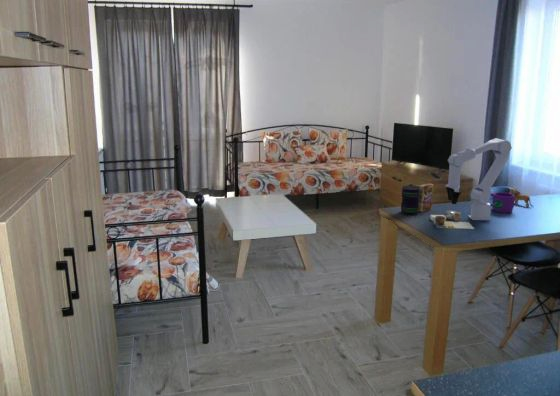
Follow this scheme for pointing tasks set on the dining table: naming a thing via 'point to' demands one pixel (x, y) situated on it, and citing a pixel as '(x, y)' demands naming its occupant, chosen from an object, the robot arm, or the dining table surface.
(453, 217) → the tin
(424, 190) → the candy box
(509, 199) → the mug
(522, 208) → the dining table surface
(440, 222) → the walnut cylinder
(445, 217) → the soap bar
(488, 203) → the robot arm
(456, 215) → the cork
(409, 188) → the storage jar
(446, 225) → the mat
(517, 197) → the lion figurine
